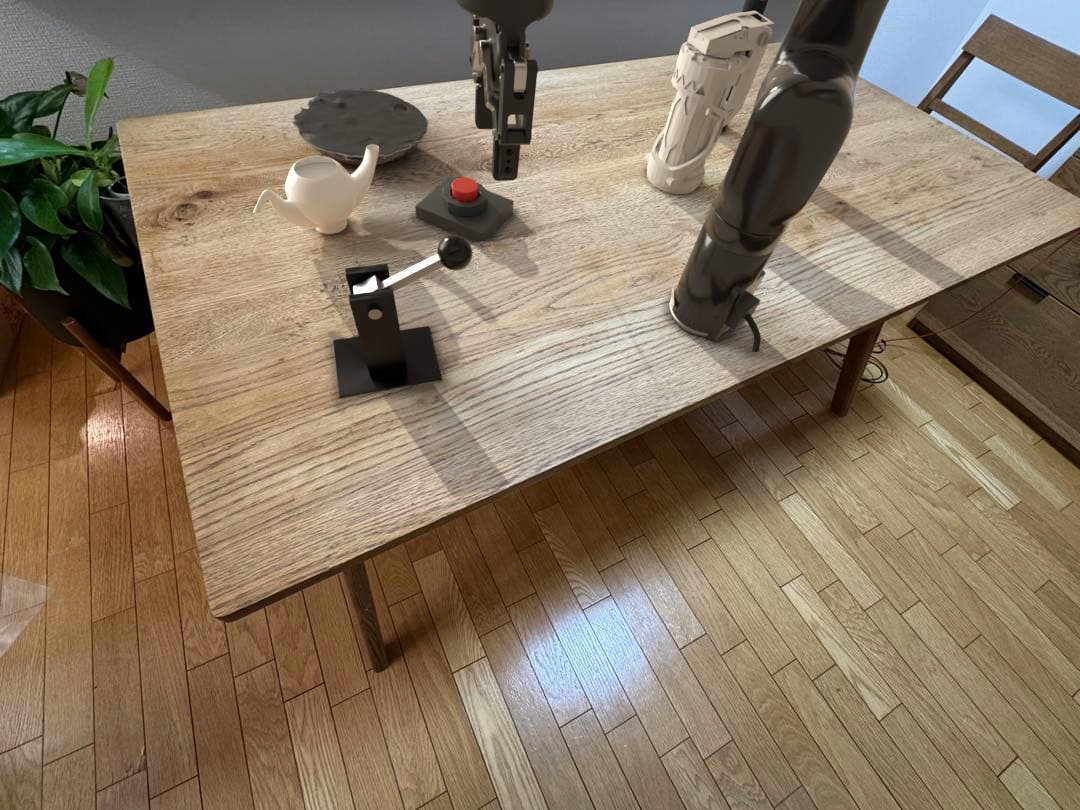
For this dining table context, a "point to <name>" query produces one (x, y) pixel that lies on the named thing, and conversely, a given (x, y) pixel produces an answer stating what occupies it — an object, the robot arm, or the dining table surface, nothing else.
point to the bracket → (381, 343)
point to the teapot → (322, 192)
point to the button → (465, 189)
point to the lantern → (706, 96)
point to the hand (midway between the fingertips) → (494, 151)
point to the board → (361, 125)
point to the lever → (424, 266)
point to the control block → (465, 212)
